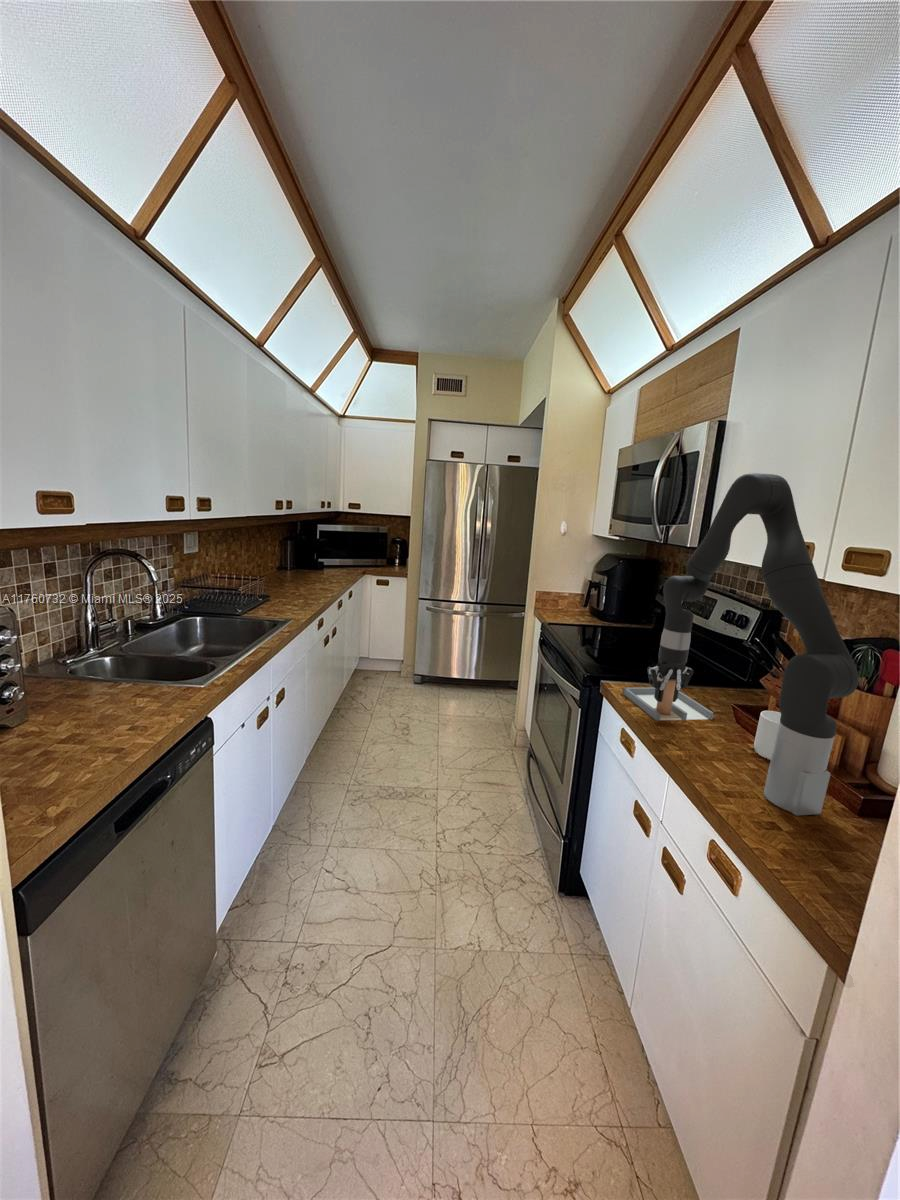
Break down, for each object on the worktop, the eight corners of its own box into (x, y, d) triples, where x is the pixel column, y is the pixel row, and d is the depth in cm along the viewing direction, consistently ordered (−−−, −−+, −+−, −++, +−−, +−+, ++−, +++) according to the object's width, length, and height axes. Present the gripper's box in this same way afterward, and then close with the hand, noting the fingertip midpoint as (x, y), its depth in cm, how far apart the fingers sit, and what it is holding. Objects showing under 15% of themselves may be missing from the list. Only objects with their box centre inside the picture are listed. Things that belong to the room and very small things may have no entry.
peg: (673, 713, 136) (679, 681, 134) (661, 714, 136) (666, 681, 133) (665, 707, 140) (670, 676, 138) (653, 708, 139) (658, 676, 137)
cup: (759, 759, 117) (767, 721, 115) (744, 737, 129) (751, 702, 127) (797, 765, 115) (806, 728, 113) (778, 742, 127) (786, 708, 124)
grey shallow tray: (711, 722, 137) (713, 712, 136) (655, 723, 134) (657, 713, 133) (671, 695, 155) (673, 686, 154) (621, 695, 152) (622, 687, 151)
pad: (678, 718, 136) (678, 716, 136) (659, 718, 135) (660, 717, 134) (666, 709, 141) (666, 707, 141) (648, 709, 140) (648, 708, 140)
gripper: (659, 648, 129) (650, 706, 132) (705, 649, 131) (695, 706, 135) (644, 640, 136) (636, 695, 139) (688, 641, 138) (679, 695, 142)
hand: (665, 700), depth 137 cm, fingers closed on peg, 4 cm apart
